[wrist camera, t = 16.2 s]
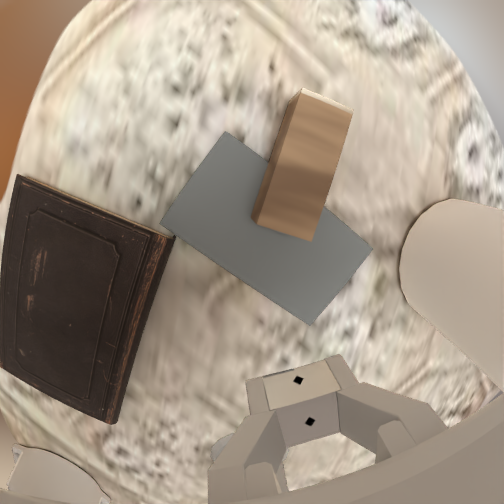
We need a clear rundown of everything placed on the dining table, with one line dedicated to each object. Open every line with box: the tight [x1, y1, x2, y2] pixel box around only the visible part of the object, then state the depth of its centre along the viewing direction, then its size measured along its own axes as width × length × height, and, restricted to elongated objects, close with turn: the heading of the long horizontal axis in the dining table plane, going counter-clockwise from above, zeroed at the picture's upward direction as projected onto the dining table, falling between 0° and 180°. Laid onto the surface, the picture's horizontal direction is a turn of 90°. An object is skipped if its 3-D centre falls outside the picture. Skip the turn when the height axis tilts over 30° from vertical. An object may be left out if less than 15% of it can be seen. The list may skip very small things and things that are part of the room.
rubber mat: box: [159, 131, 373, 326], centre depth 26 cm, size 9×16×1 cm, turn 53°
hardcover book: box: [0, 174, 176, 425], centre depth 26 cm, size 16×23×2 cm
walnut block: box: [250, 88, 354, 242], centre depth 22 cm, size 4×4×10 cm
